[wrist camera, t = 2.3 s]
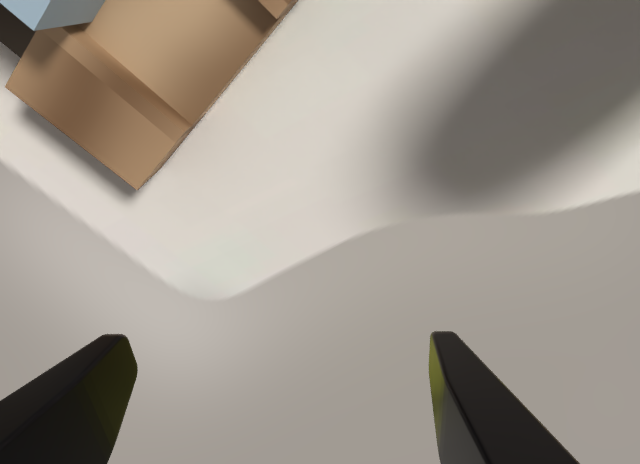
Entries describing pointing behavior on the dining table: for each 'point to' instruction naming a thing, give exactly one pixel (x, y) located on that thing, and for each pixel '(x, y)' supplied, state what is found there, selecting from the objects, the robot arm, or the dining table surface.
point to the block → (53, 12)
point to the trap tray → (136, 72)
